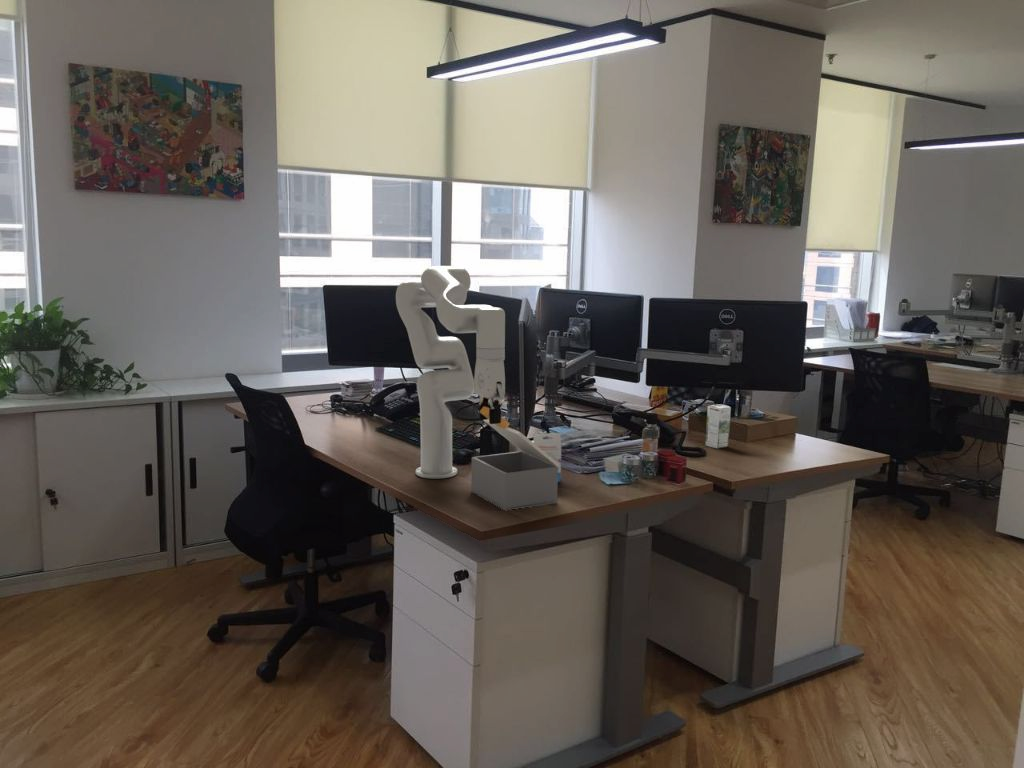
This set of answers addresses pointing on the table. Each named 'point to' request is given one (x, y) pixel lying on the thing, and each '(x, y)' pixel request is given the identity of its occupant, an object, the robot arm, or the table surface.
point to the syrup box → (718, 426)
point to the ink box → (550, 447)
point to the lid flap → (517, 438)
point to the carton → (514, 480)
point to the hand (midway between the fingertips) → (490, 420)
